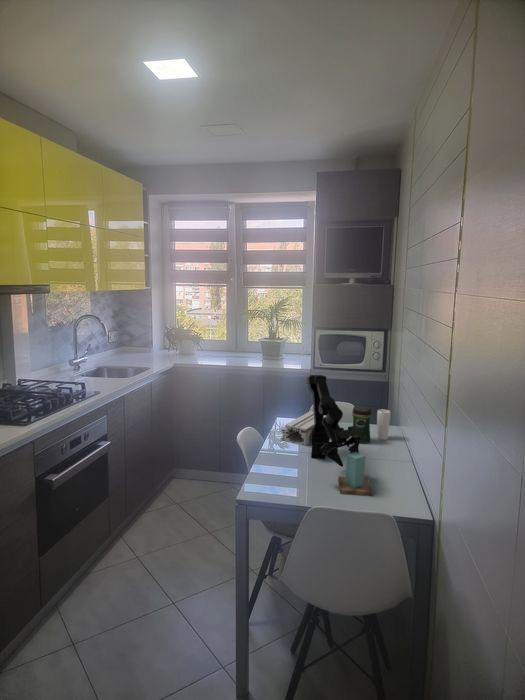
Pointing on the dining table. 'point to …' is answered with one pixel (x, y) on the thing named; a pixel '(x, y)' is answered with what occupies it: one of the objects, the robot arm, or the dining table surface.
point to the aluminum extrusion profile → (299, 429)
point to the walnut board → (349, 489)
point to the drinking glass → (383, 423)
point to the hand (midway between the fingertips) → (350, 464)
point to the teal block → (355, 469)
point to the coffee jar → (362, 422)
